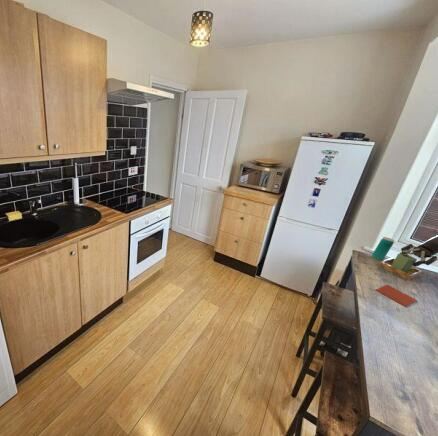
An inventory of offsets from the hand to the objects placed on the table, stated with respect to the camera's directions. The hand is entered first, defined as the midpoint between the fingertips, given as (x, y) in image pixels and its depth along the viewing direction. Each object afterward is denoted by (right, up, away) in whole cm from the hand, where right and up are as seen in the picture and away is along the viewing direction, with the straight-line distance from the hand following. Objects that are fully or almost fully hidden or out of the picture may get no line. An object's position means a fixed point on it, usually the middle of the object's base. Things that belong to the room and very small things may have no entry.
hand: (405, 261), depth 136 cm
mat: (-25, -14, -18) cm, 34 cm away
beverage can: (-3, -1, +14) cm, 15 cm away
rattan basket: (-1, -7, +3) cm, 7 cm away
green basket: (-1, -6, +3) cm, 7 cm away
